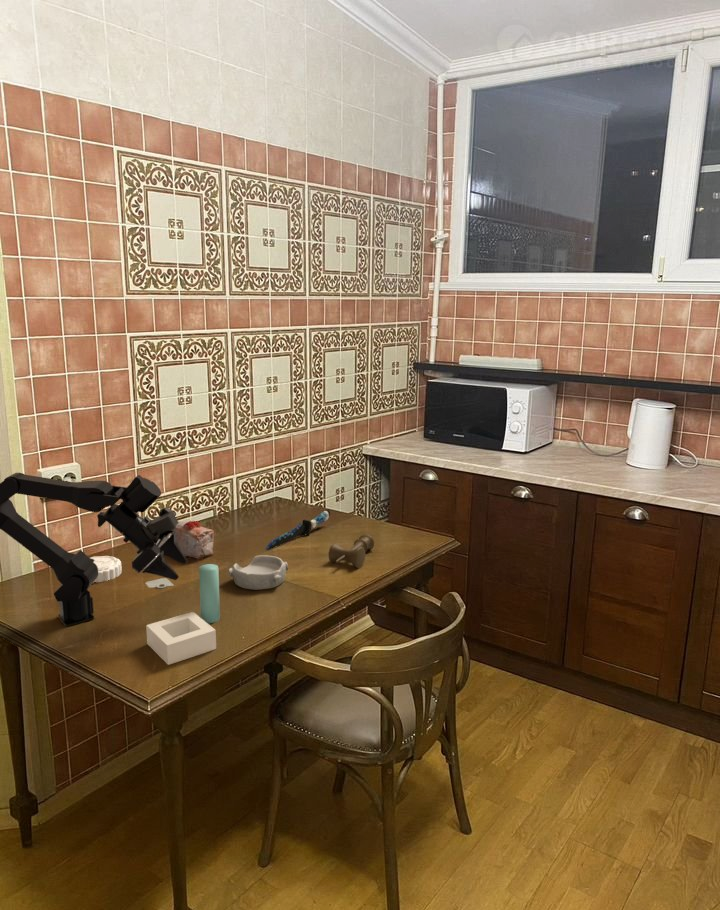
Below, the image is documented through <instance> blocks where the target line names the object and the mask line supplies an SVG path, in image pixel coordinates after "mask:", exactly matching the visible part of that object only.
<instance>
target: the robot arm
mask: <svg viewBox="0 0 720 910" xmlns="http://www.w3.org/2000/svg"><path fill="white" fill-rule="evenodd" d="M161 491H162V490H161V489H160V487H159V486H158V485H157V484H156V483H155V482H154V481H151V480H150V479H149V478H147V477H143V476H142V475H140V474H138V475H137V476H136V477H134V478H133V479H132V481H131V483H129V485H128V486H121V485H120V486H119V485H114V484H113V485H112V484H111V483H110V482H108V481H106V480H85V481H76V482H75V481H68V480H63V479H62V480H61V479H54V478H49V477H43V476H37V475H32V474H31V475H30V474H24V473H22V472H15V473H12V474H10V475H9V476H7V477H5V478H4V479H3V481H1V482H0V530H1V531H3V532H4V533H5V534H7V535H8V536H9V537H11V538H12V539H13V540H15V541H16V542H17V543H19V545H21V546H22V547H24V548H25V549H26V550H28V552H30V553H31V554H33V555H34V556H35V557H37V558H38V559H39V560H41V561H42V562H43V563H44V564H46V565H48V566H49V567H50V568H51V569H52V571H53V572H54V574H55V576H56V579H57V581H58V582H59V583H60V584H61V585H60V586H59V587H58V588H57V589H56V590H55V591H54V593H53V596H54V598H55V600H56V602H58V604H59V606H58V607H59V614H57V617H58V618H59V620H60V621H61V622H62V624H63V625H64V626H65V627H71V626H74V625H77V624H81V623H85V622H89V621H92V620H94V619H95V616H94V615H93V614H94V613H95V612H94V611H95V610H94V600H93V599H94V598H93V596H92V595H91V592H90V591H89V590H88V589H89V588H91V586H92V584H94V583H93V582H94V581H95V580H96V578H97V576H98V567H97V565H96V564H95V563H94V559H91V557H89V556H88V555H87V554H86V553H85V552H84V551H82V550H78V552H76V553H73V552H69V551H67V550H65V549H64V548H63V547H61V546H60V545H59V544H58V543H57V542H55V541H54V540H53V539H51V538H50V537H49V536H47V535H46V534H45V533H43V532H42V531H41V530H39V528H37V527H36V526H34V525H33V524H32V523H31V522H29V521H28V520H27V519H25V518H24V517H23V516H21V515H20V514H19V513H18V512H17V510H16V508H15V506H14V504H13V502H12V500H11V498H12V497H13V496H14V495H16V494H18V495H24V496H29V497H35V498H36V497H37V498H42V499H49V500H55V501H63V502H67V503H71V504H72V505H74V506H75V507H77V508H79V509H81V510H85V511H88V512H89V513H90V512H91V513H98V514H97V515H96V517H97V526H98V528H101V527H102V526H103V525H104V524H105V523H106V522H107V523H108V524H109V525H110V526H111V527H112V528H113V529H115V530H116V531H117V532H118V533H119V534H121V535H122V536H123V537H124V538H123V539H122V540H123V542H124V543H126V544H128V542H130V543H131V544H132V545H133V546H134V547H135V548H136V549H137V551H136V554H137V555H136V556H135V558H134V559H133V560H132V562H131V568H132V569H133V570H134V571H135V572H136V573H138V574H139V573H142V574H145V573H146V574H152V575H156V576H160V577H163V578H167V579H171V580H173V581H177V579H178V578H180V577H179V575H178V574H177V572H176V570H174V569H173V568H172V566H171V565H170V564H169V563H168V562H167V561H166V559H165V556H166V557H168V558H169V559H172V560H174V561H176V562H178V563H180V564H182V565H186V564H187V563H188V559H187V557H186V556H184V554H183V553H182V551H181V550H180V548H179V546H178V544H177V543H176V531H175V532H174V533H173V534H172V535H171V534H170V533H172V532H173V531H174V530H175V528H176V525H177V524H178V523H179V522H180V521H179V520H178V518H177V517H176V516H177V512H175V511H173V509H170V508H169V507H167V506H166V507H163V508H161V509H160V510H159V512H158V513H159V515H158V516H156V517H155V518H153V519H151V518H150V517H148V516H144V517H142V516H141V515H139V513H144V512H146V510H148V509H149V508H150V507H151V506H152V505H154V502H156V501H157V500H158V499H159V497H161V496H162V492H161ZM120 500H122V501H121V502H120V503H119V504H117V503H118V502H119V501H120ZM107 507H108V508H107ZM105 508H107V509H106V511H103V510H105Z"/></svg>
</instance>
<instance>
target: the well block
mask: <svg viewBox="0 0 720 910" xmlns="http://www.w3.org/2000/svg"><path fill="white" fill-rule="evenodd" d="M216 632H217V631H216V629H215V628H214V627H212V626H211V625H210V623H206V622H205V621H204V620H203V619H201V616H199V615H198V614H197V613H195V612H194V611H190V612H186V613H184V614H180V615H176V616H173V617H170V618H167V619H163V620H159V621H155V622H152V623H148V624H147V625H146V644H147V645H148V646H149V648H151V649H152V650H153V652H155V653H156V654H157V655H158V656H159V658H160V659H162V661H164V662H165V664H166V665H168V666H169V665H172V664H176V663H178V662H181V661H184V660H187V659H191V658H193V657H196V656H200V655H203V654H205V653H209V652H213V651H214V650H216V649H217V633H216Z"/></svg>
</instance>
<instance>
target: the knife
mask: <svg viewBox="0 0 720 910" xmlns="http://www.w3.org/2000/svg"><path fill="white" fill-rule="evenodd" d="M330 515H331V511H330V509H325V510H324V511H322V512H321V513H320V514H319V515H317V516H316V517H314V518H313V519H311V520H308V519H303V520H302V522H300V523H299V524H298V525H297V526H296V527H294V528H292V529H291V530H289V531H288V532H286V533H283V534H281V535H278V536H277V537H275V538H273V540H272V541H270V542H269V543H268V544H267V545H266V547H265V550H272V549H274V548H273V547H275V546H277V547H279V546H281V545H280V544H282V545H284V544H286V543H288V542H289V541H291V540H293V539H295V538H297V537H298V536H300V535H301V534H302V533H303V534H302V535H305V534H306V535H305V536H310V534H311V530H313V529H314V528H315V527H316V528H317V526H319V525H320V524H322V523H325V522H326V521H327V520H328V519H329V517H330ZM283 543H284V544H283ZM278 545H279V546H278ZM271 548H272V549H271ZM275 548H276V547H275Z"/></svg>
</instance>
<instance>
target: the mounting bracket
mask: <svg viewBox="0 0 720 910" xmlns="http://www.w3.org/2000/svg"><path fill="white" fill-rule="evenodd" d="M144 584H145V585H146V586H147V587H148V588H149V589H150V588H157V589H166V588H167V587H172V586H174V587H175V585H174V584H173V583H172V581H170V580H169V578H166V577H163V578H162V577H161V578H158V579H154V580H149V581H146V582H145V583H144Z"/></svg>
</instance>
